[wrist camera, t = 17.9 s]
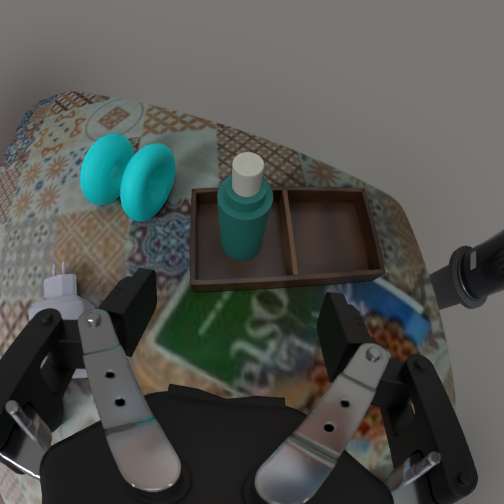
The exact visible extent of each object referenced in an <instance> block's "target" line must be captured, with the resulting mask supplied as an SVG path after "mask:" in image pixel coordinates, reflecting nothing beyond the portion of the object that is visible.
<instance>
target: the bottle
mask: <svg viewBox="0 0 504 504" xmlns="http://www.w3.org/2000/svg"><path fill="white" fill-rule="evenodd" d="M263 170H264V161H263V160H262V158H261V157H260V156H259V155H257V154H255V153H251V152H245V153H241V154H239V155H237V156H236V157H235V158H234V160H233V166H232V174H231V175H230V176H229V177H228V178H227V179H225V180H224V181H223V182H222V184H221V185H220V187H219V189H218V193H217V199H218V213H219V226H220V239H221V247H222V250H223V252H224V253H225V254H226V255H227V256H228V257H229V258H231V259H233V260H236V261H247V260H250V259H252V258H253V257H255V256H256V255H257V253H258V252H259V250H260V247H261V243H262V240H263V236H264V232H265V229H266V225H267V221H268V217H269V214H270V210H271V206H272V203H273V192H272V189H271V187H270V185H269V184H268V183H267V182H266V180H265V178H264V177H263Z"/></svg>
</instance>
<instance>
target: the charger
mask: <svg viewBox="0 0 504 504" xmlns="http://www.w3.org/2000/svg"><path fill="white" fill-rule="evenodd" d="M47 308H54V309H57V310H58V311H59V312H60V313H61V316H62V319H68V320H78V318H79V316H80V315H81V314H82V313H84V312H85V311H88V310H91V309H95V306H94V305H93V304H91V303H90V302H89V301H88V300H86V299H84V298H82V297H80V296H78V295H77V285H76V274H65V261H63V262H62V274H61V275H57V276H56V264H53V265H52V277H48V278H47V279H45V280H44V301H39V302H34V303H33V305H32V306H31V308H30V309H29V321H30V320H31V319H32V318H33V317H34V315H35V314H36V313H37V312H39V311H41V310H43V309H47ZM47 358H48V357H47V356H46V357H45V359H44V360H43V362H42V364H41V367H42V366H43V364H44V362H45V361H46V359H47ZM87 377H88V376H87V372H86V369H76V371H75V373H74V374H73V376H72V378H71V379H74V378H87Z"/></svg>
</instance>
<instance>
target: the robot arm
mask: <svg viewBox="0 0 504 504" xmlns="http://www.w3.org/2000/svg"><path fill="white" fill-rule="evenodd" d="M457 274H458V279H459V283H460V286H461V288H462V290H463V292H464V293H465V295H466V296H467V297H468V298H469V299H471V300H473V301H478V300H481V299H482V298H484V297H487V296H490V295H493V294H495V293H498V292H500V291H503V290H504V229H503V230H502V231H500V232H498V233H497V234H495V235H494V236H492V237H491V238H489V239H488V240H486V241H484V242H482V243H481V244H479V245H477V246H476V247H474V248H472V249H470V250H469V251H466V252H464V253H463V254H462V255H461V256H460V258H459V260H458V265H457ZM156 305H157V289H156V273H155V270H151V269H144V268H139V269H138V270H137V271H136V272H135V274H134V275H133V276H132V277H129V276H128V277H126V278H124V279H122V280H121V281H119V283H118V284H117V285H116V286H115V289H113V290H112V291H111V294H109V295H108V296H107V298H106V299H105V300H104V301H103V303H102V304H101V305H100V307H99V308H98V309H91V310H88V311H85V312H84V313H82V314H81V315H80V316H79V318H78V320H68V319H62V316H61V313H60V312H59V311H58V310H57V309H54V308H47V309H43V310H41V311H39V312H37V313H36V314H35V315H34V317H33V318H32V319H31V320H30V321H29V323H28V324H27V325H26V326H25V328H24V329H23V330H22V331H21V333H20V334H19V335H18V337H17V338H16V339H15V340H14V342H13V343H12V344H11V346H10V347H9V348H8V350H7V351H6V353H5V354H4V355H3V357H2V358H1V359H0V462H1V463H3V464H4V465H6V466H7V467H9V468H10V469H11V470H12V471H14V472H15V473H17V474H27V475H29V476H31V477H33V478H34V479H36V480H38V481H40V483H41V490H42V504H453V503H455V502H457V501H459V500H460V499H462V498H464V497H466V496H467V495H469V494H470V493H471V492H473V491H474V489H475V488H476V485H477V481H478V475H477V471H476V468H475V465H474V462H473V459H472V456H471V453H470V450H469V447H468V444H467V442H466V439H465V436H464V434H463V431H462V428H461V426H460V423H459V421H458V419H457V416H456V414H455V411H454V409H453V407H452V404H451V402H450V400H449V398H448V395H447V393H446V391H445V389H444V387H443V385H442V383H441V380H440V378H439V376H438V374H437V372H436V370H435V368H434V366H433V364H432V363H431V361H430V360H429V359H427V358H426V357H424V356H422V355H419V354H412V355H410V356H408V358H407V359H406V361H405V362H402V361H397V360H393V359H390V358H389V355H388V353H387V351H386V350H385V349H384V348H382V347H381V346H379V345H377V344H374V343H373V341H372V339H371V337H370V334H369V332H368V330H367V328H366V326H365V324H364V321H363V320H362V317H361V315H360V313H359V311H358V310H357V309H356V308H355V307H354V306H353V305H349V304H348V303H347V301H346V299H345V297H344V295H343V294H341V293H330V292H327V293H326V295H325V298H324V301H323V305H322V308H321V311H320V314H319V317H318V322H317V332H318V336H319V340H320V344H321V349H322V353H323V357H324V361H325V365H326V370H327V374H328V379H329V382H333V383H332V385H331V386H330V387H329V389H328V390H327V391H326V393H325V394H324V395H323V397H322V398H321V399H320V401H319V402H318V403H317V404H316V406H315V407H314V408H313V410H312V411H311V412H310V413H309V415H308V416H307V415H305V414H304V413H302V412H300V411H298V410H296V409H294V408H291V407H288V406H285V398H280V397H264V396H251V397H242V398H231V399H226V398H222V397H219V396H216V395H213V394H211V393H208V392H205V391H202V390H200V389H197V388H191V387H185V386H179V385H174V384H170V385H169V388H168V391H163V392H155V393H151V394H147V395H144V396H143V393H142V391H141V389H140V387H139V385H138V383H137V380H136V378H135V376H134V374H133V371H132V369H131V367H130V364H129V362H128V359H127V357H126V356H128V357H132V355H133V353H134V351H135V349H136V347H137V345H138V343H139V341H140V339H141V337H142V335H143V333H144V331H145V329H146V327H147V325H148V323H149V321H150V319H151V317H152V315H153V313H154V311H155V309H156ZM46 356H47V357H48V358H47V359H46V361H45V362H44V364H43V366H42V367H41V364H42V362H43V360H44V359H45V357H46ZM76 369H86V372H87V376H88V380H89V384H90V387H91V391H92V394H93V398H94V401H95V404H96V407H97V410H98V414H99V417H100V419H101V420H99V421H98V422H96V423H94V424H92V425H90V426H89V427H87V428H85V429H83V430H81V431H79V432H77V433H75V434H73V435H72V436H70V437H68V438H66V439H64V440H62V441H60V442H58V443H56V444H54V445H53V446H51V441H52V434H51V431H50V429H49V425H50V423H51V420H52V418H53V416H54V414H55V411H56V409H57V407H58V405H59V403H60V401H61V399H62V397H63V394H64V392H65V390H66V388H67V386H68V384H69V382H70V380H71V378H72V376H73V374H74V373H75V371H76ZM411 403H413V406H414V409H415V415H414V412H413V409H412V406H411ZM370 404H371V405H375V406H379V407H380V411H381V414H382V418H383V422H384V426H385V431H386V435H387V439H388V443H389V448H390V452H391V457H392V462H393V467H394V470H392V472H391V473H390V475H389V477H388V485H387V486H386V485H385V484H384V483H383V482H382V481H380V480H379V479H378V478H377V477H375V476H374V475H373V474H372V473H371V472H369V471H368V470H367V469H366V468H365V467H364V466H362V465H361V464H360V463H359V462H358V461H357V460H356V459H354V458H353V457H352V456H351V455H350V454H349V453H348V452H347V451H345V450H344V449H345V447H346V446H347V444H348V443H349V441H350V439H351V438H352V436H353V434H354V432H355V431H356V429H357V427H358V426H359V424H360V422H361V420H362V418H363V417H364V415H365V413H366V411H367V409H368V407H369V405H370Z"/></svg>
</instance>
